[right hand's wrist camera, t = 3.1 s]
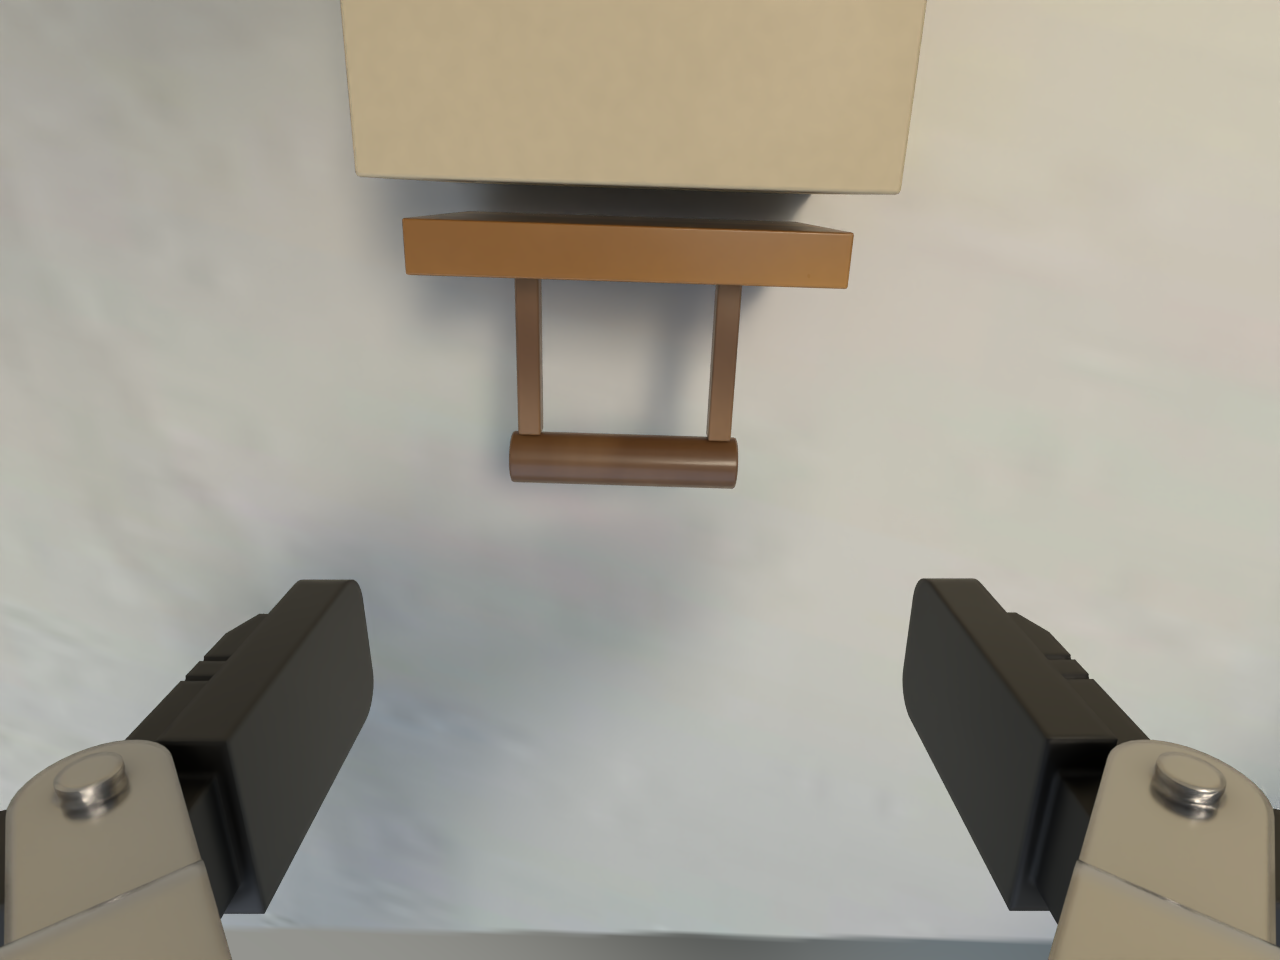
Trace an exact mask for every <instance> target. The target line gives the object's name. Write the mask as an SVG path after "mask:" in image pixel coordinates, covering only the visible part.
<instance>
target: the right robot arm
mask: <svg viewBox="0 0 1280 960" xmlns="http://www.w3.org/2000/svg"><path fill="white" fill-rule="evenodd" d="M1070 656H1071V655H1070V654H1069V653H1068V652H1067V651H1066V650H1065V648H1064V647H1063V646H1062V645H1061V644H1060V643H1059V642H1058V641H1057V640H1056V639H1055V638H1054V637H1053V636H1052V635H1051V634H1050V633H1049V632H1048V631H1046V630H1045V629H1043V628H1041V627H1040V626H1038V625H1036V624H1035V623H1033V622H1031V621H1029V620H1028V619H1026V618H1024V617H1023V616H1021V615H1019V614H1018V613H1007V612H1006V611H1005V610H1004V609H1003V608H1002V607H1001V605H1000V604H999V603H998V602H997V601H996V600H995V599H994V598H993V596H992V595H991V594H990V593H989V592H988V591H987V590H986V588H985V587H984V586H983V585H982V584H981V583H980V582H979V581H978V580H976V579H920V580H919V581H918V583H917V585H916V587H915V591H914V595H913V602H912V609H911V616H910V624H909V631H908V638H907V646H906V653H905V660H904V668H903V694H904V701H905V705H906V709H907V712H908V715H909V717H910V719H911V721H912V723H913V725H914V727H915V729H916V731H917V733H918V735H919V737H920V739H921V741H922V743H923V744H924V746H925V748H926V750H927V752H928V754H929V756H930V758H931V760H932V762H933V764H934V766H935V768H936V770H937V772H938V773H939V775H940V777H941V779H942V781H943V783H944V785H945V787H946V789H947V791H948V793H949V795H950V797H951V799H952V801H953V802H954V804H955V806H956V808H957V810H958V812H959V814H960V816H961V818H962V820H963V822H964V824H965V826H966V828H967V829H968V831H969V833H970V835H971V837H972V839H973V841H974V843H975V845H976V847H977V849H978V851H979V853H980V855H981V857H982V858H983V860H984V862H985V864H986V866H987V868H988V870H989V872H990V874H991V876H992V878H993V880H994V882H995V884H996V886H997V887H998V889H999V891H1000V893H1001V895H1002V897H1003V899H1004V901H1005V903H1006V905H1007V907H1008V909H1009V911H1050V912H1051V914H1052V916H1053V917H1054V919H1055V921H1056V923H1057V924H1058V926H1057V930H1056V933H1055V937H1054V940H1053V944H1052V947H1051V951H1050V954H1049V957H1048V960H1280V810H1277V809H1273V808H1272V806H1271V804H1270V802H1269V800H1268V798H1267V797H1266V796H1265V794H1264V793H1263V792H1262V791H1261V790H1260V789H1259V788H1258V787H1257V786H1256V785H1255V784H1254V783H1253V782H1252V781H1251V780H1250V779H1248V778H1247V777H1246V776H1245V775H1243V774H1242V773H1240V772H1239V771H1237V770H1236V769H1234V768H1233V767H1231V766H1230V765H1228V764H1226V763H1224V762H1222V761H1221V760H1219V759H1217V758H1214V757H1212V756H1210V755H1208V754H1206V753H1203V752H1200V751H1198V750H1195V749H1192V748H1189V747H1186V746H1183V745H1179V744H1175V743H1170V742H1165V741H1158V740H1150V739H1149V738H1148V737H1147V736H1146V735H1145V734H1144V733H1143V732H1142V730H1141V729H1140V728H1139V727H1138V726H1137V725H1136V724H1135V723H1134V722H1133V721H1132V720H1131V719H1130V718H1129V717H1128V716H1127V714H1126V713H1125V712H1124V711H1123V710H1122V709H1121V708H1120V707H1119V706H1118V705H1117V704H1116V703H1115V702H1114V701H1113V700H1112V699H1111V697H1110V696H1109V695H1108V694H1107V693H1106V692H1105V691H1104V690H1103V689H1102V688H1101V687H1100V686H1099V685H1098V684H1097V683H1096V681H1095V680H1094V679H1089V676H1088V675H1089V674H1088V673H1087V672H1086V671H1085V670H1084V669H1083V668H1082V667H1081V666H1080V664H1079V663H1078V662H1077V661H1076V660H1071V657H1070ZM372 696H373V669H372V662H371V655H370V648H369V640H368V633H367V626H366V619H365V612H364V604H363V597H362V593H361V589H360V587H359V585H358V583H357V582H356V581H355V580H300V581H298V582H297V583H295V584H294V586H293V587H292V588H291V589H290V590H289V591H288V592H287V593H286V595H285V596H284V597H283V598H282V599H281V600H280V601H279V602H278V604H277V605H276V606H275V607H274V608H273V609H272V610H271V611H270V612H269V614H258V615H257V616H255V617H253V618H251V619H250V620H248V621H246V622H245V623H243V624H241V625H240V626H238V627H236V628H234V629H233V630H231V631H229V632H228V633H226V634H225V635H224V636H223V637H222V638H221V639H220V640H219V641H218V642H217V643H216V644H215V645H214V647H213V648H212V649H211V650H210V651H209V652H208V653H207V654H206V655H205V656H204V661H199V662H198V663H197V664H196V666H195V667H194V668H193V669H192V670H191V671H190V672H189V673H188V674H187V675H186V679H185V681H180V682H179V683H178V685H177V686H176V687H175V688H174V689H173V690H172V691H171V692H170V693H169V694H168V695H167V696H166V697H165V698H164V699H163V700H162V701H161V702H160V704H159V705H158V706H157V707H156V708H155V709H154V710H153V711H152V712H151V713H150V714H149V715H148V716H147V717H146V718H145V719H144V720H143V721H142V722H141V724H140V725H139V726H138V727H137V728H136V729H135V730H134V731H133V732H132V733H131V734H130V735H129V736H128V737H127V738H126V739H125V740H122V741H115V742H110V743H105V744H101V745H97V746H94V747H91V748H88V749H85V750H82V751H80V752H77V753H74V754H72V755H70V756H68V757H66V758H63V759H61V760H59V761H58V762H56V763H54V764H52V765H50V766H49V767H47V768H46V769H44V770H43V771H41V772H40V773H38V774H37V775H35V776H34V777H33V778H32V779H30V780H29V781H28V782H27V783H26V784H25V785H24V786H23V787H22V788H21V789H20V790H19V791H18V792H17V793H16V794H15V796H14V797H13V798H12V800H11V802H10V804H9V806H8V808H7V810H3V811H0V960H232V958H231V954H230V951H229V947H228V944H227V940H226V937H225V933H224V930H223V926H222V923H221V918H222V916H223V914H264V913H265V912H266V910H267V908H268V906H269V904H270V902H271V900H272V898H273V896H274V894H275V892H276V891H277V889H278V887H279V885H280V883H281V881H282V879H283V877H284V875H285V873H286V871H287V870H288V868H289V866H290V864H291V862H292V860H293V858H294V856H295V854H296V852H297V850H298V849H299V847H300V845H301V843H302V841H303V839H304V837H305V835H306V833H307V831H308V829H309V828H310V826H311V824H312V822H313V820H314V818H315V816H316V814H317V812H318V810H319V808H320V807H321V805H322V803H323V801H324V799H325V797H326V795H327V793H328V791H329V789H330V787H331V786H332V784H333V782H334V780H335V778H336V776H337V774H338V772H339V770H340V768H341V766H342V765H343V763H344V761H345V759H346V757H347V755H348V753H349V751H350V749H351V747H352V745H353V744H354V742H355V740H356V738H357V736H358V734H359V732H360V730H361V728H362V726H363V724H364V723H365V721H366V718H367V716H368V713H369V710H370V707H371V702H372Z"/></svg>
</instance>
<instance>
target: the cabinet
mask: <svg viewBox="0 0 1280 960" xmlns="http://www.w3.org/2000/svg"><path fill="white" fill-rule="evenodd" d="M926 3H927V0H340V4H341V15H342V27H343V38H344V49H345V60H346V71H347V82H348V94H349V105H350V116H351V127H352V138H353V149H354V160H355V172H356V174H357V176H360V177H371V178H389V179H406V180H423V181H441V182H460V183H490V184H521V185H551V186H581V187H611V188H642V189H672V190H702V191H733V192H763V193H793V194H889V195H896V194H898V193H899V192H900V190H901V184H902V177H903V169H904V162H905V155H906V148H907V140H908V133H909V126H910V119H911V111H912V104H913V97H914V90H915V83H916V75H917V68H918V61H919V54H920V46H921V39H922V32H923V25H924V17H925V10H926Z"/></svg>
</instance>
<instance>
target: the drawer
mask: <svg viewBox="0 0 1280 960" xmlns="http://www.w3.org/2000/svg"><path fill="white" fill-rule="evenodd" d="M402 226H403V240H404V253H405V267H406V274H408V275H430V276H461V277H492V278H515V315H516V356H517V397H518V431H514V432H513V434H512V436H511V441H510V449H509V470H510V477H511V480H512V481H513V482H529V483H562V484H595V485H628V486H661V487H694V488H727V489H732V488H734V487H735V484H736V480H737V472H738V445H737V441H736V439H735V438H731V426H732V412H733V399H734V386H735V372H736V359H737V345H738V332H739V319H740V305H741V292H742V286H772V287H803V288H834V289H846V288H847V287H848V279H849V270H850V262H851V254H852V246H853V237H854V234H853V233H851V232H846V231H840V230H835V229H830V228H825V227H819V226H814V225H809V224H803V223H798V222H782V221H752V220H721V219H691V218H660V217H630V216H599V215H568V214H538V213H507V212H477V211H467V212H458V213H448V214H438V215H429V216H419V217H410V218H403V219H402ZM541 279H554V280H585V281H617V282H648V283H679V284H710V285H716V289H715V305H714V320H713V336H712V352H711V368H710V384H709V399H708V415H707V431H706V434H707V437H697V436H665V435H632V434H600V433H567V432H542V429H543V374H542V297H541Z"/></svg>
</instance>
